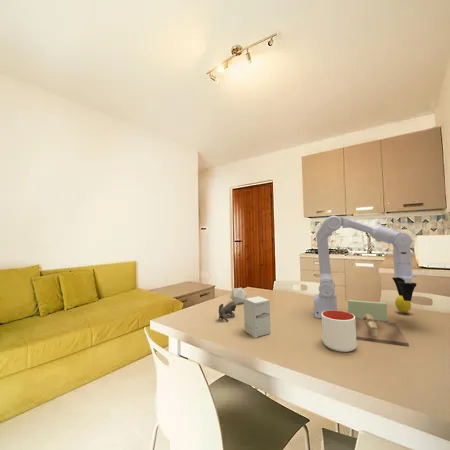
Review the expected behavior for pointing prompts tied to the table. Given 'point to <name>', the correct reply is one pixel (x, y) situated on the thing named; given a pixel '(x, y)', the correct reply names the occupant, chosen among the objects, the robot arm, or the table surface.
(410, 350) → the table surface
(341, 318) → the cup
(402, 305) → the lemon
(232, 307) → the dog figurine
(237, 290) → the die
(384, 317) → the slotted plate
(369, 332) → the base
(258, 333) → the supplement box
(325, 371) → the table surface
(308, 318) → the table surface
